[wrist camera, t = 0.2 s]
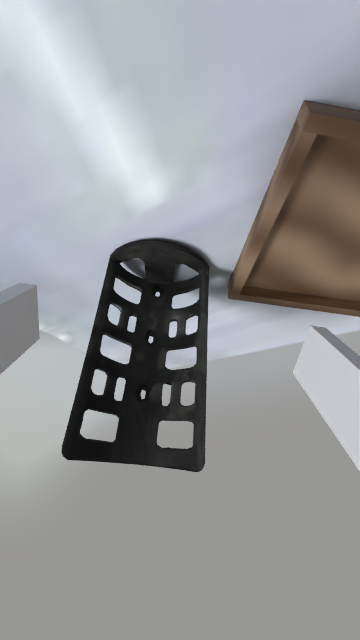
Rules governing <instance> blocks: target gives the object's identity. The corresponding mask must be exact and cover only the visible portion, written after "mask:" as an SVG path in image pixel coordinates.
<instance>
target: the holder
mask: <svg viewBox="0 0 360 640" xmlns="http://www.w3.org/2000/svg"><path fill="white" fill-rule="evenodd" d="M133 258H139V259H142V260H143V261H144V263H145V272H146V278H145V279H143V278H140V277H137V276H135V275H133V274H131V273H130V272H128V271H127V270H125V269H124V268H123V267H122V266H121V265H120V263H121V262H124V261H127V260H130V259H133ZM177 264H185V265H187V266H188V267H190V268H192V269H193V270H195V271H197V272H198V273H199V274H198V275H197V276H195V277H194V278H192V279H189V280H186V281H182V282H173V274H174V269H175V265H177ZM115 278H118V279H120V280H121V281H122V282H124V283H125V284H127V285H128V286H130V287H132V288H134V289H137V290H139V291H140V292H141V293H142V294H141V300H140V303H139V304H134V303H132V302H129V301H127V300H126V299H124V298H122V297H121V296H119V295H118V294H117V293H116V292H115V291H114V289H113V288H114V282H115ZM208 287H209V265H208V264H207V262H206V261H205V260H204V259H203V258H202V257H200V256H198V255H197V254H195V253H194V252H192V251H190V250H188V249H186V248H183V247H180V246H177V245H174V244H171V243H165V242H160V241H137V242H132V243H128V244H125V245H123V246H121V247H119V248H117V249H116V250H115V251H114V252H113V253H112V254H111V255H110V259H109V263H108V267H107V272H106V276H105V280H104V284H103V288H102V292H101V296H100V300H99V305H98V309H97V313H96V317H95V321H94V325H93V329H92V333H91V337H90V341H89V345H88V349H87V353H86V357H85V360H84V364H83V368H82V372H81V376H80V380H79V384H78V388H77V392H76V395H75V400H74V404H73V407H72V411H71V414H70V418H69V422H68V426H67V430H66V433H65V437H64V441H63V445H62V454H63V457H65V458H66V459H67V460H81V461H98V462H111V463H124V464H138V465H146V466H156V467H165V468H172V469H180V470H186V471H192V472H199V471H201V470H202V469H203V467H204V464H205V424H206V423H205V422H206V420H205V419H206V377H207V328H208ZM197 288H200V292H199V300H198V301H197V303H195V304H193V305H191V306H188V307H184V308H180V309H173V308H172V307H171V306H172V298H173V296H175V295H178V294H183V293H187V292H189V291H192V290H195V289H197ZM156 292H160V296H159V297H157V296H155V294H156ZM110 304H112V305H114V306H115V307H117V308H118V309H119V310H120V311H121V314H120V319H119V323H118V325H117V326H116V325H114V324H112V323H111V322H110V321H109V320H108V316H107V314H108V309H109V306H110ZM195 315H196V316H198V329H197V331H196V332H195V333H193V334H190V335H186V334H185V329H186V320H187V319H188V318H190V317H193V316H195ZM129 316H134V317H136V318H137V321H136V327H135V331H134V332H133V333H132V332H129V331H128V330H127V326H128V321H129ZM172 321H177V335H176V336H175V337H173V338H170V337H169V324H170V322H172ZM103 335H107V336H109V337H111V338H113V339H115V340H117V341H120V342H122V343H125V344H127V345H130V346H131V348H132V350H131V356H130V361H129V363H128V364H121V363H119V362H116V361H114V360H111V359H109V358H107V357H105V356H103V355H102V354H101V352H100V347H101V341H102V336H103ZM149 336H152V337H154V338H153V342H152V343H151V344H150V343H149V342H148V339H149ZM190 347H196V348H197V362H196V364H195V365H194V367H191V368H186V369H179V370H170V369H167V368H166V367H165V361H166V353H167V352H168V351H169V350H178V349H185V348H190ZM95 369H99V370H101V371H104V372H105V373H106V375H107V380H106V385H105V390H104V394H103V395H96V394H94V393H93V392H92V390H91V385H92V380H93V375H94V371H95ZM119 377H121V378H125V380H126V384H125V389H124V394H123V399H122V401H116V400H115V399H114V392H115V387H116V381H117V379H118V378H119ZM185 382H193V383H195V384H196V385H195V403H194V404H192V405H190V406H183V405H181V403H180V397H181V386H182V384H183V383H185ZM164 383H165V384H168V385H172V387H171V399H170V403H169V405H168V406H163V405H162V388H163V384H164ZM142 390H145V391H146V395H145V399H141V395H140V394H141V391H142ZM88 409H90V410H94V411H98V412H103V413H107V414H113V415H116V416H117V417H118V418H119V422H118V428H117V433H116V439H115V441H113V442H107V441H101V440H93V439H86V438H84V437H83V436H82V435H81V434H80V429H81V425H82V421H83V415H84V412H85V411H86V410H88ZM162 420H164V421H189V422H192V423H193V424H194V434H193V435H194V436H193V446H192V448H189V449H176V448H161V447H160V446H158V445H157V432H158V425H159V422H160V421H162Z"/></svg>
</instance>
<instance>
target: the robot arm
mask: <svg viewBox="0 0 360 640" xmlns="http://www.w3.org/2000/svg"><path fill="white" fill-rule="evenodd" d="M38 339H39V320H38V301H37V285H31V284H24V283H18V284H16V285H14V286H12V287H10V288H8V289H5V290H3V291H1V292H0V374H1V373H2V372H3V371H4V370H6V369H7V367H9V366H10V365H11V364H12V363H13V362H14V361H15V360H17V359H18V357H20V356H21V355H22V354H23V353H24V352H25V351H26V350H27V349H28V348H30V346H32V345H33V344H34V343H35V342H36V341H37V340H38ZM293 374H294V375H295V377H296V378H297V380H298V381H299V383H300V384H301V386H302V387H303V389H304V390H305V391H306V393H307V394H308V396H309V397H310V399H311V400H312V402H313V403H314V405H315V406H316V407H317V409H318V411H319V412H320V414H321V415H322V417H323V418H324V419H325V421H326V422H327V424H328V425H329V427H330V428H331V430H332V431H333V433H334V434H335V436H336V437H337V439H338V440H339V442H340V443H341V444H342V446H343V447H344V449H345V450H346V452H347V453H348V455H349V456H350V458H351V459H352V460H353V462H354V463H355V465H356V466H357V468H358V469H359V471H360V356H359V355H358V354H357V353H355V352H354V351H353V350H352V349H351V348H349V347H348V346H347V345H346V344H344V343H343V342H342V341H341V340H340V339H338V338H337V337H336V336H335V335H334V334H332V333H331V332H330V331H329V330H328V329H326V328H323V327H317V326H310V328H309V331H308V334H307V336H306V339H305V342H304V344H303V347H302V350H301V352H300V355H299V358H298V360H297V363H296V366H295V369H294V371H293Z"/></svg>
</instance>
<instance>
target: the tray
mask: <svg viewBox="0 0 360 640" xmlns="http://www.w3.org/2000/svg"><path fill="white" fill-rule="evenodd" d="M228 299H235V300H242V301H249V302H257V303H264V304H271V305H278V306H286V307H293V308H300V309H307V310H315V311H322V312H329V313H336V314H344V315H351V316H358V317H360V111H358V110H353V109H348V108H342V107H337V106H332V105H326V104H321V103H315V102H310V101H305V100H304V102H303V104H302V106H301V109H300V111H299V114H298V116H297V119H296V121H295V123H294V126H293V128H292V131H291V133H290V136H289V138H288V140H287V143H286V145H285V148H284V150H283V153H282V155H281V158H280V160H279V162H278V165H277V167H276V170H275V172H274V175H273V177H272V179H271V182H270V184H269V187H268V189H267V192H266V194H265V196H264V199H263V201H262V204H261V206H260V209H259V211H258V213H257V216H256V218H255V221H254V223H253V226H252V228H251V230H250V233H249V235H248V238H247V240H246V243H245V245H244V247H243V250H242V252H241V255H240V257H239V260H238V262H237V264H236V267H235V269H234V272H233V274H232V277H231V279H230V281H229V284H228Z"/></svg>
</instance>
